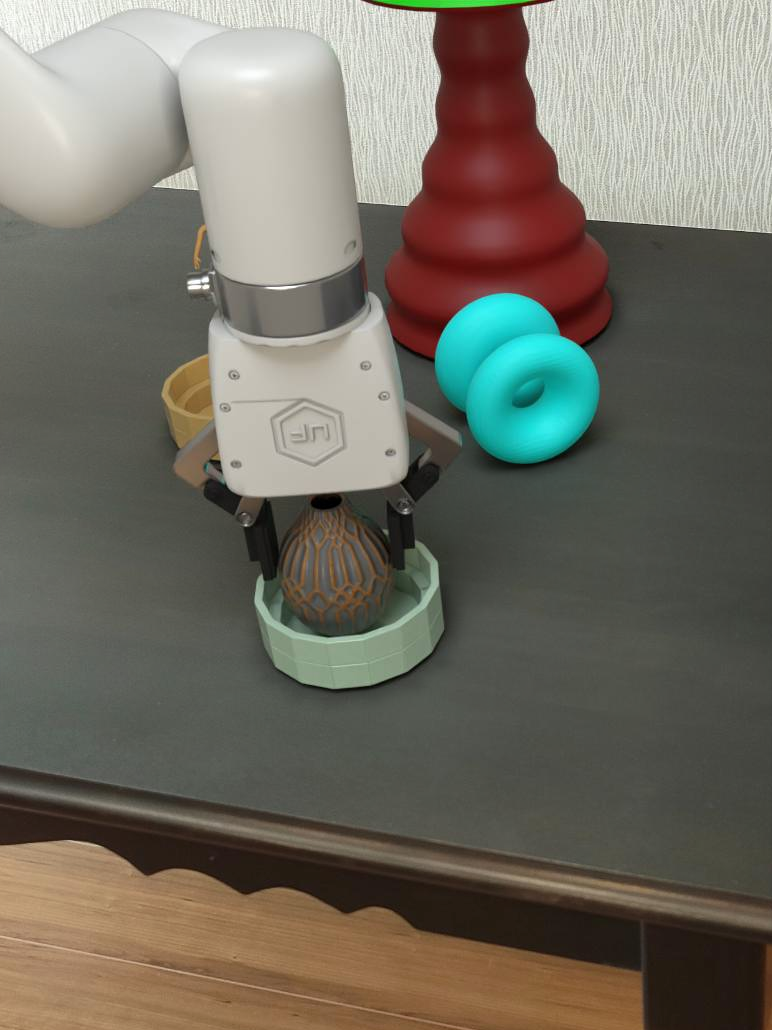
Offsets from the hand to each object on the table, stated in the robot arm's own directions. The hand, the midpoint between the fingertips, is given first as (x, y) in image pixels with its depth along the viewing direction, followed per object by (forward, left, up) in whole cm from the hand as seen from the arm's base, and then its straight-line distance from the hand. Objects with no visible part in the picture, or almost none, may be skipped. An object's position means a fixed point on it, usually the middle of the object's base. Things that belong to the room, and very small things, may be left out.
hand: (335, 559), depth 76 cm
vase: (0, 0, -5) cm, 5 cm away
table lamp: (+13, +41, -6) cm, 43 cm away
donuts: (+13, +21, -6) cm, 25 cm away
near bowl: (+1, 0, -6) cm, 6 cm away
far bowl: (-8, +26, -6) cm, 28 cm away
